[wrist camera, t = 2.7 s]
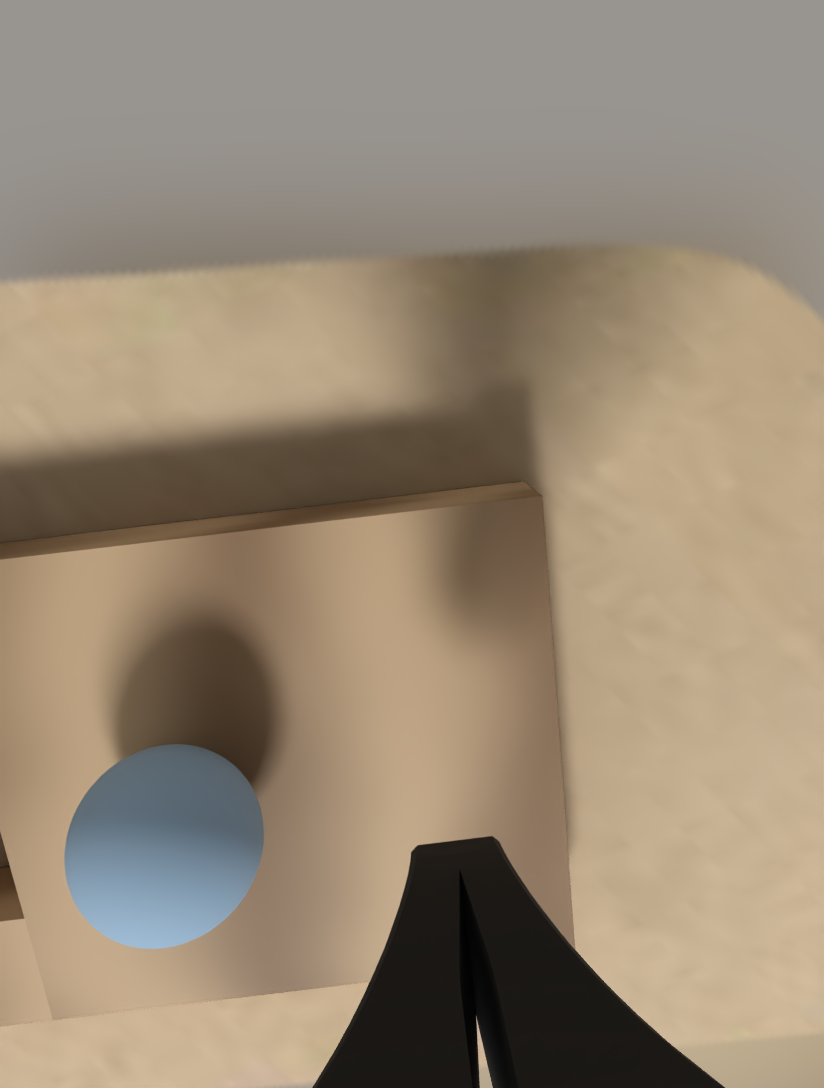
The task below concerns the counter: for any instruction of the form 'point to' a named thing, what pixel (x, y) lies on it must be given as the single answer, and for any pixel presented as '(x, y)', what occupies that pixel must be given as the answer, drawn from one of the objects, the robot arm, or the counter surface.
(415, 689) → the board
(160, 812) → the ball
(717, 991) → the counter surface
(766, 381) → the counter surface
